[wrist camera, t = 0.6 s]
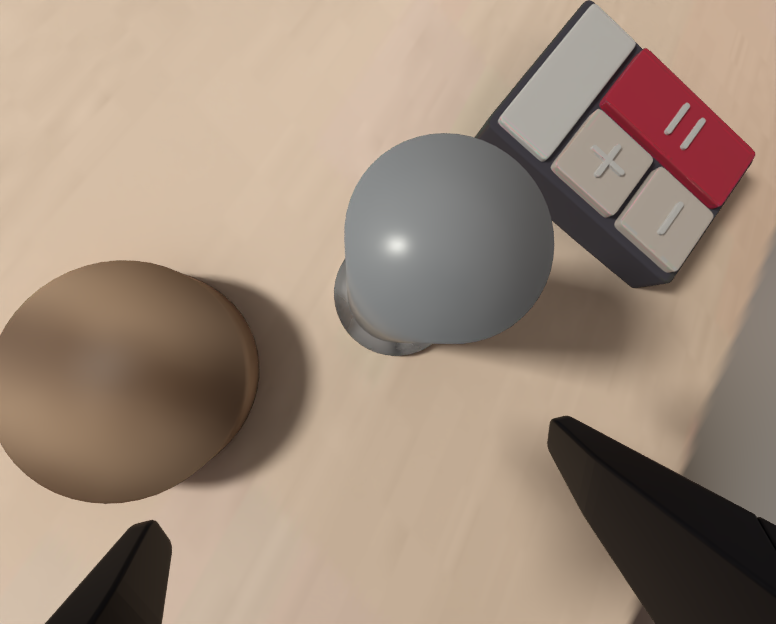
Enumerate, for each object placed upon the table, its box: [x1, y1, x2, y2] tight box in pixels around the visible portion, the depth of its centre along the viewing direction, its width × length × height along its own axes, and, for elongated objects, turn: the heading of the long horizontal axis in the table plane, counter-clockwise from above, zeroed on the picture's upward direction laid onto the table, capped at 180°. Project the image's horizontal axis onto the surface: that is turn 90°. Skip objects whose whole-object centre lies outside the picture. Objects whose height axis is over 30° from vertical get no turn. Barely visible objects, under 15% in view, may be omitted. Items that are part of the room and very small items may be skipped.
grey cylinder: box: [334, 133, 554, 356], centre depth 17 cm, size 8×8×13 cm
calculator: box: [475, 0, 755, 288], centre depth 24 cm, size 11×4×15 cm
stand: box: [0, 261, 259, 504], centre depth 20 cm, size 12×12×3 cm
